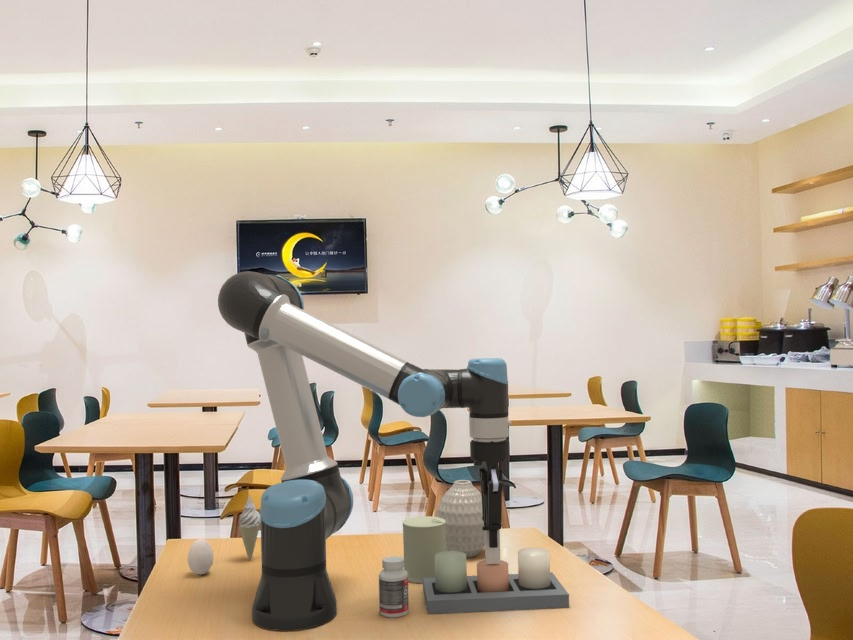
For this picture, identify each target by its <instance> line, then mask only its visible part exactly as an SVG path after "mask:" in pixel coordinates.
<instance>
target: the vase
mask: <svg viewBox="0 0 853 640" xmlns="http://www.w3.org/2000/svg"><path fill="white" fill-rule="evenodd" d="M437 506H438V507H437V509H436V513H435V517H439V518H443V519H444V520H445V521H446V551H459V552H463V553H465V554H466V559H469V558H468V557H470V558H474V557H477V556H478V555H479V554H480V553H481V552H482V551H483V549H485V535H484V531H483V529H482V526H484V521H483V519H482V517H483V515H482V497H481V491H480V490H478V488H477V487H475V486H474V485H473V483H472V481H471V480H467V479H458V480H457V479H456V480H455V481H453V484H452V486H451V487H449V489H448V490H447V491H446V492H445V493H444V494H443V495H442V497H441V499H440V501H439V503H438V505H437ZM476 555H477V556H476Z"/></svg>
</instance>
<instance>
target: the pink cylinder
mask: <svg viewBox="0 0 853 640" xmlns="http://www.w3.org/2000/svg"><path fill="white" fill-rule="evenodd" d="M476 576H477V593H486V592H508V591H509V563H508V562H507V561H505V560H502V559H500V564H486V563H485V559H484V560H480V561H478V562H477V563H476Z"/></svg>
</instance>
